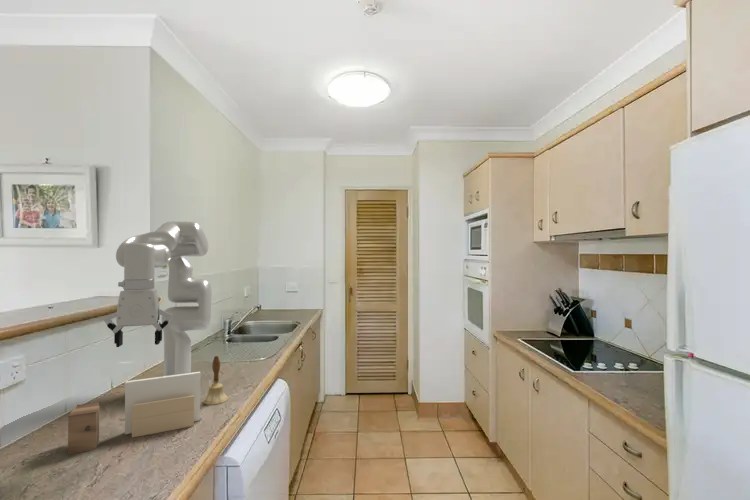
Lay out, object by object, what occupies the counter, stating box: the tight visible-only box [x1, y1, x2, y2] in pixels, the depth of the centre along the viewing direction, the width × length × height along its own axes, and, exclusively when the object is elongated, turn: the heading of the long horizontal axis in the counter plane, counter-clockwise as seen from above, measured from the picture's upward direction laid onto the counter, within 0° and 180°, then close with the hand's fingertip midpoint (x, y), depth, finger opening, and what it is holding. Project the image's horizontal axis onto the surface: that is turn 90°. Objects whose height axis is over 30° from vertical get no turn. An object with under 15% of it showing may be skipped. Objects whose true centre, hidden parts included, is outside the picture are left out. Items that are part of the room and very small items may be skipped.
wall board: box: [124, 371, 201, 438], centre depth 115 cm, size 5×20×15 cm, turn 118°
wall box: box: [67, 401, 100, 455], centre depth 105 cm, size 9×6×10 cm
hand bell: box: [202, 355, 229, 406], centre depth 137 cm, size 8×8×16 cm
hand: (138, 344), depth 110 cm, fingers open, 9 cm apart
